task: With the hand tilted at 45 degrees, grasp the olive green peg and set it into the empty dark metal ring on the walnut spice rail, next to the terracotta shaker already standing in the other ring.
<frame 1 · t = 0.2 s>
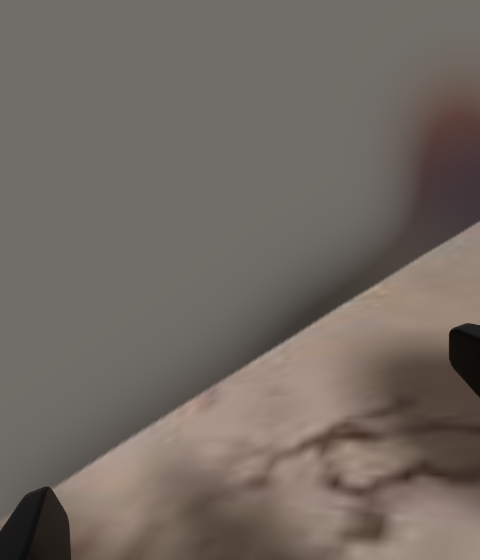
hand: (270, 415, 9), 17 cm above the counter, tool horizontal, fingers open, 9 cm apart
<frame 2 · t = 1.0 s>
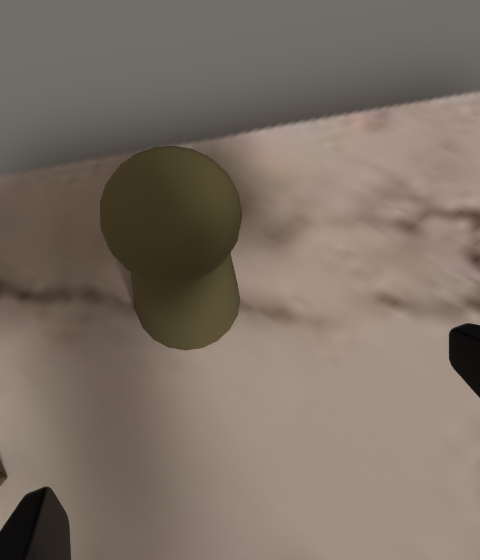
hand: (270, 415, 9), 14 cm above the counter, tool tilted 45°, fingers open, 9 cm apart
olive green peg: (188, 299, 24), on the counter
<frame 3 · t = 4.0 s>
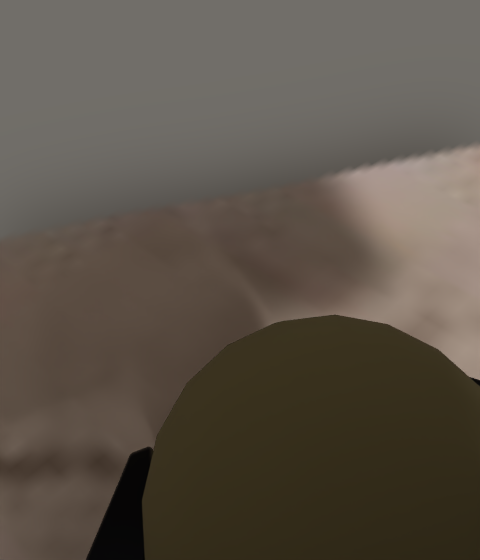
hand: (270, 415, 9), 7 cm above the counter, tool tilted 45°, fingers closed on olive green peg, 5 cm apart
olive green peg: (262, 467, 15), on the counter, touching gripper
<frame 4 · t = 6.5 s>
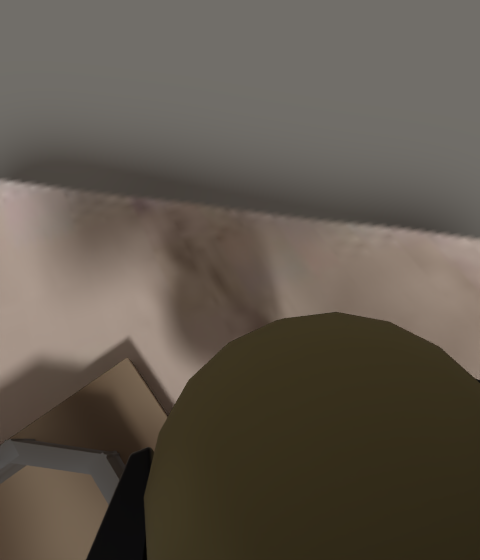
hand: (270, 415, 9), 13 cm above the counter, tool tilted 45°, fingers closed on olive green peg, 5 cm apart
olive green peg: (262, 465, 15), point 6 cm above the counter, touching gripper
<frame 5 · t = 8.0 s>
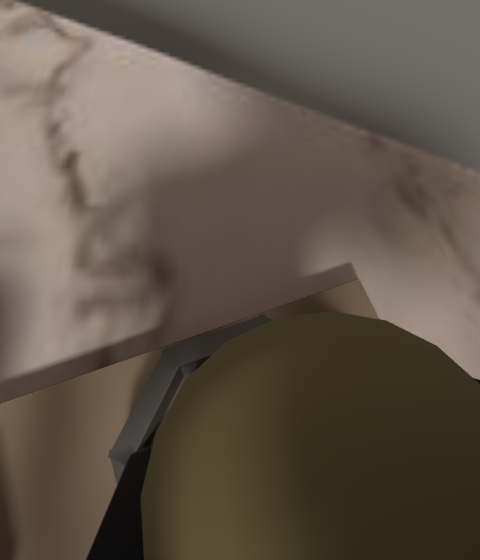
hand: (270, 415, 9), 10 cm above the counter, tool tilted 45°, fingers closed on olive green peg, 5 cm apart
spice rail: (76, 527, 17), on the counter
olive green peg: (261, 465, 15), point 3 cm above the counter, touching gripper
when the fingers open (9 cm above the counter, at t = 9.1 s): olive green peg stays where it is, resting on spice rail.
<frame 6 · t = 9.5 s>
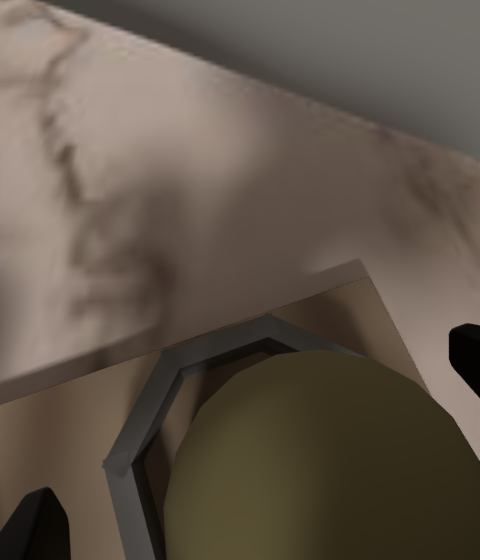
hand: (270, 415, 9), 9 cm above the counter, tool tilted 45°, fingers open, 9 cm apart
spice rail: (68, 542, 15), on the counter
olive green peg: (260, 470, 16), point 1 cm above the counter, touching spice rail
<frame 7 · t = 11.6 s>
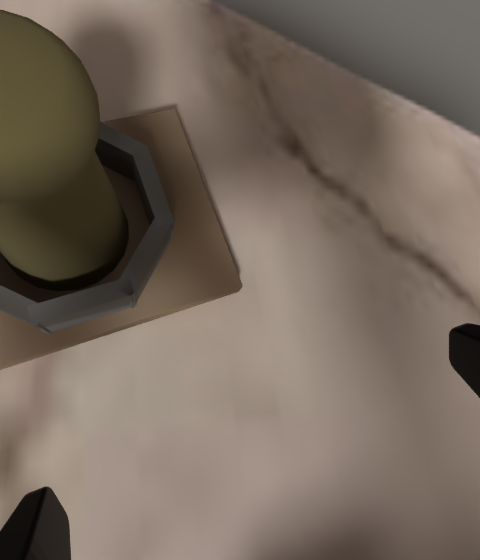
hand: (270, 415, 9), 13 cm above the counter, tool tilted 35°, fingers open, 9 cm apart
olive green peg: (66, 233, 21), point 1 cm above the counter, touching spice rail
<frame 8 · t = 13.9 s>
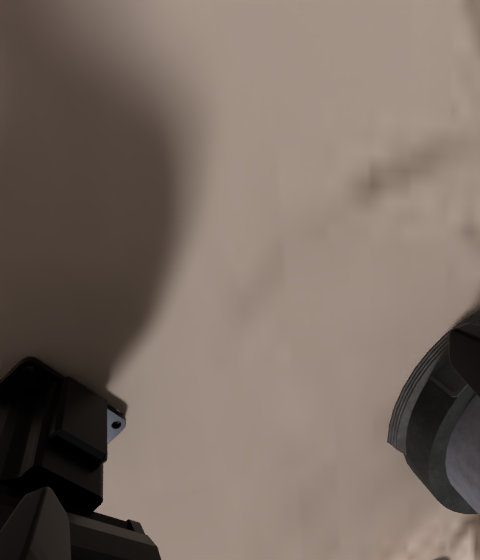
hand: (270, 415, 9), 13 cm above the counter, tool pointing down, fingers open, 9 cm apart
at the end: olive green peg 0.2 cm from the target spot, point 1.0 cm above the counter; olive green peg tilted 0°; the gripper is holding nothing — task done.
